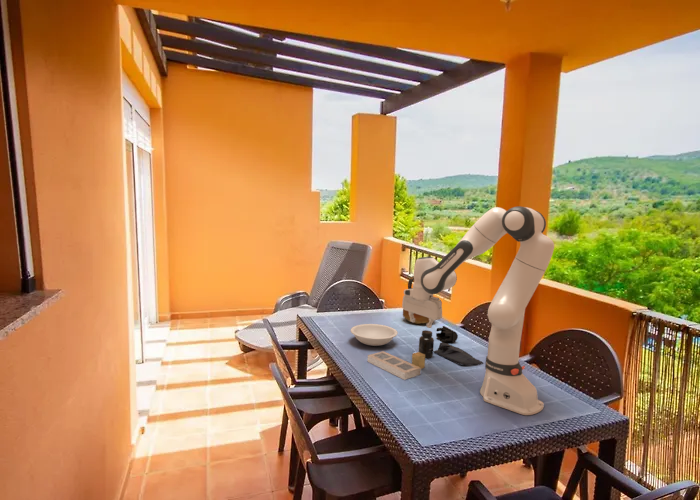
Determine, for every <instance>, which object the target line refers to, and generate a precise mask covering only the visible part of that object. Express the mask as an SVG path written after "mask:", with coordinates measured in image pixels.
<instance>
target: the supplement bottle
mask: <svg viewBox="0 0 700 500" xmlns="http://www.w3.org/2000/svg"><path fill="white" fill-rule="evenodd" d="M418 339H419V341H418V351H417V352H420V353H422V354H425V360H426V359H431V358H433V357H434V352H433V351H434V345H435V344H434V343H435V339H434V338H433V331H431V330H426V329H425V330H424V329H423V330H422V331H421V336H420V337H419V338H418Z"/></svg>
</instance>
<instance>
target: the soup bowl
mask: <svg viewBox="0 0 700 500" xmlns="http://www.w3.org/2000/svg"><path fill="white" fill-rule="evenodd" d="M350 333H351V334H352V335H353V336H354V337H355V339H356V340H357V341H359V343H361V344H364V345H367V346H372V347H373V346H374V347H375V346H376V347H377V346H378V347H379V346H384V345H386V344H389V343H390V342H392V340H393V339H394V338H395V337H397V335H398V331H397V329H395V328H393V327H391V326H388V325H385V324H377V323H362V324H357V325H354V326H352V327H351V328H350Z"/></svg>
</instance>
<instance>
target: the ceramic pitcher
mask: <svg viewBox="0 0 700 500" xmlns="http://www.w3.org/2000/svg"><path fill="white" fill-rule="evenodd" d="M413 281H414V275H412V276H411V277H410V278H409V279H408V281H407V288H408V289H411V288H413V283H414V282H413ZM402 309H403V308H402ZM413 315H414V318H415V322H412V323H413V324H417V325H421V324H427V323H429V321H430V320H429V318H428V317H425V316H421V315H418V314H415V313H414V314H413ZM402 317H403V318H404V319H405V320H406V321H408V322H410V316H409V311H406V310H404V309H403V310H402Z"/></svg>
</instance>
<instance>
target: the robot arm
mask: <svg viewBox="0 0 700 500" xmlns="http://www.w3.org/2000/svg"><path fill="white" fill-rule="evenodd" d="M546 227H547V221H546V219H545V216H544V215H543V214H542V213H541V212H540V211H537V210H535V209H533V208H531V207H527V206H521V205H520V206H519V205H518V206H513V207H511V208H509V209H508V210H506V209H504V208H503V207H500V206H499V207H498V206H495V207H492V208H490V209H489V210H487V211H486V212H485V213H484V214H483V215H481V216H480V218H478V219H477V220H476V221H475V222H474V224H473V225H472V226H470V228H469V229H468V230H467V231H466V233H465V234H464V235H463V237H462V238H461V239H460V240H459V241H458V242H457V244H456V245H455V246H454V247H453V248H452V249H451V250H450V251H449V252H448V253H447V254H446V255H445V256H444V257H443V258H442V259H441V260H440V261H438V260H437V259H435V257H433V256H422V257H418V258H417V259H416V260H415V263H414V269H413V276H414V280H413V281H414V282H413V283H412V288H411V289H404V290H403V296H402V303H401V307H402V309H404V310H406V311H409V316H410V321H409V322H410V323H413V322H415V318H414V315H413V314H414V313H415V314H418V315H421V316H425V317H428V318H429V320H430V321H429V323H425V324H426V328H427V329H432V325H433V323H434V322H435V321H439V320H441V319H443V318H442V317H443V306H442V304H443V302H442V300H441V299H440V298H439V297H437V296H436V297H435V296H434V295H437V294H439V293H440V292H443V291H446V290H449V289H451V288H452V287H454V286H455V285H456V283H457V280H458V279H457V278H458V277H457V273H456V269H458V268H459V267H460V266H461V265H462V264H463V263H464V262H466V261H467V260H470V259H472V258H474V257H477V256H481V255H482V254H484V253H485V252H487V251H488V250H490V249H491V248H492V247H494V246H495V244H497V243H498V241H500V239H501V238H502V237H504V236H505V235H506V234H508V235H509V236H510V237H512V239H514V240H515V241H517V242H519V243H520V244H519V245H520V246H519V248H518V251H517V252H516V255H515V257H514V259H513V261H512V263H511V266H510V267H509V270H507V273H506V274H505V277H504V278H503V280H502V282H501V284H500V286H499V287H498V289H497V291H496V292H495V294H494V296H493V298H492V300H491V302H490V304H489V306H488V309H487V318H488V321H489V322H490V324H491V328H490V332H489V336H488V345H487V356H485V357H486V358H485V363H484V365H485V366H484V367H485V373H484V378H483V381H482V385H481V387H480V389H479V393H480V395H481V396H482V400H483V401H484V402H485V403H487V404H488V403H489V404H491V405H494V406H496V407H500V408H501V409H502V408H503V409H505V410H508V411H512V412H514V413H517V414H520V415H522V416H532V415H536V414H538V413H540V412H541V411H542V410H543V409H544V407H545V406H544V405H545V404H544V402H543V401H542V400H540V399H538V398H539V397H538V391H537V387H536V386H535V385H533V383H531V381H530V380H529V379H528V378H527V377H526V375H524V374H523V370H525V368H526V366H525V365H523V366H521V364H520V363H521V362H520V361H519V358H520V346H521V338H522V333H523V327H524V321H525V313H526V308H527V306H528V305H529V302H530V301H531V299H532V297H533V296H534V293H535V291H536V290H537V288H538V286H539V284H540V282H541V280H542V279H543V276H544V275H545V272H546V270H547V268H548V267H549V264H550V262H551V258H552V256H553V253H554V250H555V242H554V241H553V239H552V238H551V237H549V236H548V235H546V234H544V232H545V230H546Z"/></svg>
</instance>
